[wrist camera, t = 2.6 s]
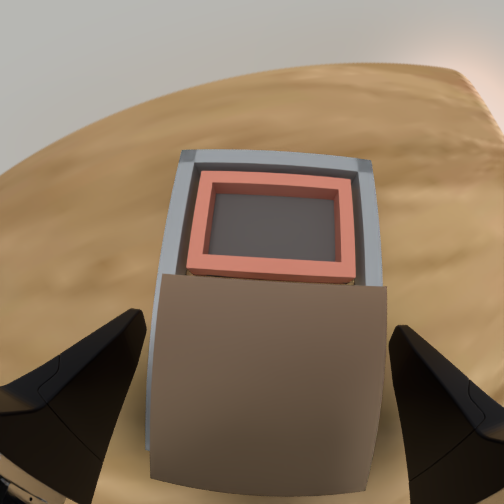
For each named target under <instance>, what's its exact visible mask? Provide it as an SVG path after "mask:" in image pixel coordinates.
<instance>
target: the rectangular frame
mask: <svg viewBox="0 0 504 504" xmlns="http://www.w3.org/2000/svg"><path fill="white" fill-rule="evenodd" d="M186 268H187V269H188V270H189V271H190V272H191V273H192V274H193V275H201V276H214V277H228V278H243V279H259V280H275V281H293V282H313V283H334V284H347V283H349V282H350V281H352V280H353V279H354V278H356V266H355V236H354V218H353V203H352V191H351V180H350V179H344V178H334V177H323V176H311V175H298V174H283V173H265V172H239V171H201V176H200V181H199V187H198V193H197V199H196V205H195V211H194V217H193V223H192V230H191V236H190V243H189V250H188V257H187V265H186Z"/></svg>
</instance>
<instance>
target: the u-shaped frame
mask: <svg viewBox="0 0 504 504" xmlns="http://www.w3.org/2000/svg"><path fill="white" fill-rule="evenodd" d="M201 171H239V172H265V173H283V174H298V175H311V176H323V177H334V178H344V179H350V180H351V191H352V203H353V218H354V236H355V266H356V278H355V285H356V286H383V283H382V257H381V241H380V228H379V217H378V208H377V199H376V191H375V183H374V176H373V169H372V163H371V160H365V159H357V158H349V157H341V156H332V155H322V154H311V153H298V152H283V151H264V150H226V149H204V150H182V152H181V156H180V160H179V164H178V168H177V173H176V177H175V182H174V186H173V191H172V196H171V200H170V205H169V210H168V216H167V221H166V226H165V232H164V237H163V243H162V249H161V255H160V262H159V268H158V275H157V282H156V290H155V297H154V306H153V314H152V324H151V334H150V345H149V357H148V372H147V390H146V423H145V450H148V451H150V404H151V382H152V366H153V352H154V340H155V330H156V320H157V311H158V302H159V294H160V286H161V279H162V273H163V274H174V275H186V270H187V268H186V265H187V257H188V250H189V243H190V236H191V230H192V223H193V217H194V211H195V205H196V199H197V193H198V187H199V181H200V176H201Z"/></svg>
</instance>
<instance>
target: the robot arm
mask: <svg viewBox="0 0 504 504" xmlns="http://www.w3.org/2000/svg"><path fill="white" fill-rule="evenodd" d="M146 331H147V328H146V323H145V319H144V316H143V312H142V311H141V310H140V309H133V308H131V309H129V310H127V311H126V312H124V313H123V314H121V315H119V316H118V317H116V318H115V319H113V320H112V321H110V322H109V323H107V324H105V325H104V326H102V327H101V328H99V329H98V330H96V331H95V332H93V333H91V334H90V335H88V336H87V337H85V338H84V339H82V340H81V341H79V342H78V343H76V344H74V345H73V346H71V347H70V348H68V349H67V350H65V351H64V352H62V353H61V354H60V355H58V356H56V357H54V358H53V359H51V360H50V361H48V362H47V363H45V364H43V365H42V366H40V367H38V368H37V369H35V370H33V371H31V372H29V373H28V374H26V375H24V376H22V377H20V378H18V379H16V380H14V381H13V382H11V383H9V384H7V385H4V386H0V504H64V503H65V500H66V498H68V499H70V500H72V501H74V502H76V503H78V504H91V503H92V499H93V495H94V492H95V488H96V485H97V481H98V478H99V475H100V471H101V468H102V465H103V461H104V458H105V455H106V452H107V449H108V446H109V443H110V440H111V437H112V434H113V431H114V428H115V425H116V422H117V419H118V416H119V414H120V411H121V408H122V405H123V403H124V400H125V397H126V394H127V392H128V389H129V386H130V384H131V381H132V379H133V376H134V373H135V371H136V368H137V365H138V361H139V357H140V354H141V350H142V346H143V343H144V339H145V335H146ZM389 355H390V363H391V371H392V380H393V386H394V391H395V396H396V401H397V406H398V411H399V416H400V422H401V428H402V434H403V440H404V447H405V454H406V461H407V470H408V479H409V491H410V504H504V407H502V406H501V405H500V404H498V403H497V402H496V401H495V400H493V399H492V398H491V397H490V396H488V395H487V394H486V393H485V392H483V391H482V390H481V389H480V388H479V387H478V386H477V385H475V384H474V383H473V382H472V381H471V380H469V378H468V377H467V376H465V375H464V374H463V373H462V372H461V371H460V370H459V369H458V368H457V367H455V366H454V365H453V364H452V363H451V362H450V361H449V360H447V359H446V358H445V357H444V356H443V355H442V354H441V353H439V352H438V351H437V350H436V349H435V348H434V347H433V346H431V345H430V344H429V343H428V342H427V341H426V340H424V339H423V338H422V337H421V336H420V335H418V334H417V333H416V332H415V331H414V330H413V329H411V328H410V327H409V326H408V325H397V326H396V327H395V329H394V332H393V334H392V336H391V339H390V341H389Z"/></svg>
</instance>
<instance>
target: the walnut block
mask: <svg viewBox="0 0 504 504" xmlns="http://www.w3.org/2000/svg"><path fill="white" fill-rule="evenodd" d="M386 335H387V286H356V285H332V284H310V283H291V282H273V281H257V280H241V279H226V278H213V277H199V276H187V275H174V274H163V273H162V279H161V286H160V294H159V302H158V311H157V320H156V330H155V340H154V352H153V366H152V382H151V404H150V477H151V478H152V479H156V480H159V481H163V482H168V483H172V484H176V485H181V486H186V487H191V488H197V489H203V490H209V491H216V492H223V493H232V494H242V495H255V496H282V497H294V496H321V495H334V494H344V493H353V492H360V491H365V490H366V486H367V482H368V477H369V473H370V468H371V464H372V459H373V454H374V448H375V443H376V437H377V431H378V424H379V417H380V410H381V402H382V393H383V383H384V371H385V357H386Z"/></svg>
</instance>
